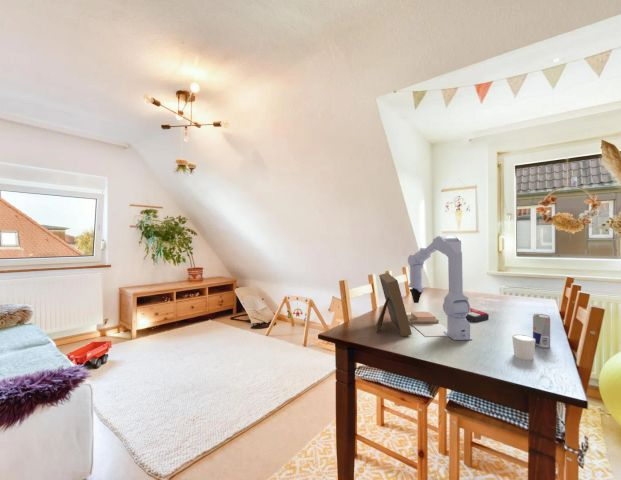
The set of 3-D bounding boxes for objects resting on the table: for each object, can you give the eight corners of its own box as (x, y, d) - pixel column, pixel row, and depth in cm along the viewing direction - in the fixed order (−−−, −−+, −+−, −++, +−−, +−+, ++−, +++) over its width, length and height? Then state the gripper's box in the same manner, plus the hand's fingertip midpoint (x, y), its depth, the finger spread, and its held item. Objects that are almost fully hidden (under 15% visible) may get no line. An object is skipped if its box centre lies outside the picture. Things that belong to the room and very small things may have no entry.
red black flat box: (475, 316, 144) (449, 307, 157) (474, 324, 144) (448, 315, 158) (489, 312, 149) (462, 304, 162) (488, 321, 149) (462, 312, 162)
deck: (438, 323, 143) (438, 319, 143) (412, 324, 143) (412, 320, 143) (425, 315, 158) (425, 311, 158) (402, 315, 158) (402, 312, 158)
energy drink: (533, 342, 118) (533, 312, 118) (550, 345, 115) (550, 315, 114) (532, 346, 114) (532, 316, 114) (550, 349, 111) (550, 318, 110)
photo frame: (399, 321, 148) (398, 272, 147) (411, 336, 126) (410, 279, 126) (370, 321, 149) (369, 273, 148) (377, 337, 127) (376, 280, 127)
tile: (435, 320, 142) (435, 316, 142) (417, 321, 142) (417, 317, 142) (428, 315, 150) (428, 312, 150) (411, 316, 150) (411, 312, 150)
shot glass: (525, 352, 109) (525, 333, 109) (540, 360, 102) (540, 340, 102) (507, 352, 108) (507, 334, 108) (521, 361, 102) (521, 341, 101)
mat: (457, 336, 126) (457, 335, 126) (425, 336, 126) (425, 336, 126) (440, 324, 142) (440, 323, 142) (411, 324, 142) (411, 324, 142)
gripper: (403, 275, 161) (404, 299, 162) (413, 279, 147) (413, 306, 147) (416, 275, 161) (416, 299, 162) (427, 279, 147) (427, 306, 147)
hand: (416, 302), depth 155 cm, fingers closed
